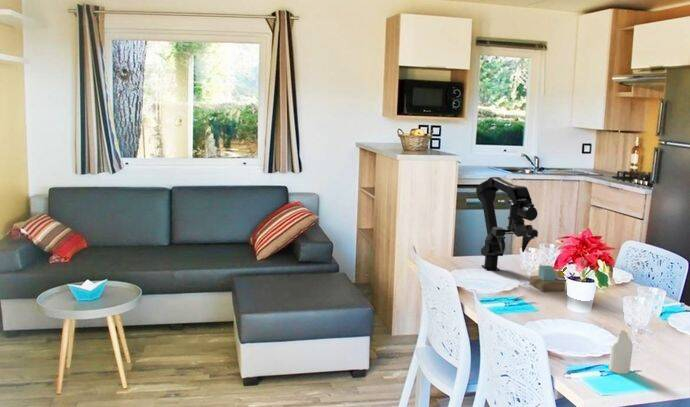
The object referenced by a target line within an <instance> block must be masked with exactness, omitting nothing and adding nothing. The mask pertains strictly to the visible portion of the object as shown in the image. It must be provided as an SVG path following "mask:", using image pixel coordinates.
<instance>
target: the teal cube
mask: <svg viewBox="0 0 690 407" xmlns="http://www.w3.org/2000/svg"><path fill="white" fill-rule="evenodd" d="M553 267H554V266H552V265H539V266H538V275H537V276H538V277H539V278H540V279H542V280H543V281H555V278H556V271H553Z"/></svg>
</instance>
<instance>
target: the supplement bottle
mask: <svg viewBox="0 0 690 407" xmlns="http://www.w3.org/2000/svg"><path fill="white" fill-rule="evenodd" d="M557 255H558V254H556V255H555V257H556V256H557ZM566 269H567V267H565V268H564V269H563V271H556V278H557V279H559V280H561V281H566V280H565V277H564V273H563V272H564V271H565V270H566Z"/></svg>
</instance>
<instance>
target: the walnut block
mask: <svg viewBox="0 0 690 407" xmlns="http://www.w3.org/2000/svg"><path fill="white" fill-rule="evenodd" d="M529 285H530V286H531V287H533V288H535V289H537V290H539V291H540V292H542V293H548V292H549V293H550V292H551V293H552V292H553V293H554V292H556V293H558V292H565V289H566V282H565V281H564V280H559V279H557V278H555V281H543V280H542V279H540V278H539V277H538V275H530V277H529Z"/></svg>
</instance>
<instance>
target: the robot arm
mask: <svg viewBox="0 0 690 407" xmlns="http://www.w3.org/2000/svg"><path fill="white" fill-rule="evenodd" d="M499 191H501V192H503V193H505V194H506V196H507V197H508V198H509V199H510V200H508V201H507V203H508V204H510V206H509V207H510V208H509V216H507V220H508V225H507V226H506V228H503V227H500V226H498V222H497V214H496V209H495V204H494V202H495V200H496V197H497V192H499ZM475 192H476V196H477V199H478V200H479V202H480V203H481V204H482V209H483V216H484V222H485V228H486V233H487V235H486V238H485V240H484V246H482V247H481V249H480V255H482V256H484V262H483V263H484V264H482V265H481V267H482V269H484V270H485V269H488V270H487V271H500V270H501V269H500V268H499V267H498V264H499V263H498V261H499V257H503V256H504V253H505V251H506V241H505V239H506V236H505V235H515V236H516V237H519V238H520V237H522V242H521V244H522V245H521V252H522V253H524V252H525V251H526V248H527V246H528V244H529V243H530V241H532V240H534V239H535V238H538V237H539V231H538V230H537V229H535V228H533V225H532V224H525V220H526V221H528V222H529V221H530V222H533V221H534V220H536V219H537V217H538V210H537V209H536V208H535V204H534V203H533V200H532V197H531V194H530V191H529V188H528V187H527V186H524V185H517V184H513V183H511V182H509V181H507V180H504V179H503V178H502V177H499V176H491V177H489V178H487V180H485V181H482V182H480V184H479V185H478V186H477V187H476V189H475Z"/></svg>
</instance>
